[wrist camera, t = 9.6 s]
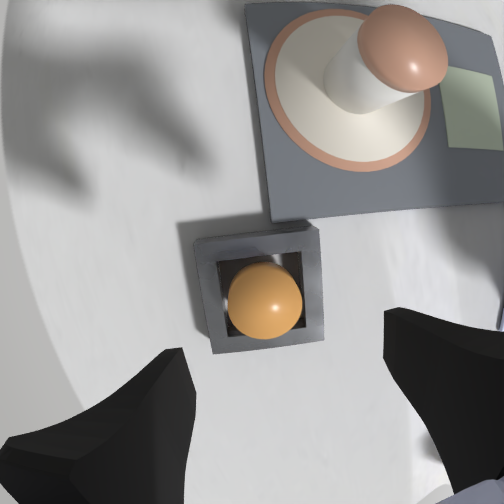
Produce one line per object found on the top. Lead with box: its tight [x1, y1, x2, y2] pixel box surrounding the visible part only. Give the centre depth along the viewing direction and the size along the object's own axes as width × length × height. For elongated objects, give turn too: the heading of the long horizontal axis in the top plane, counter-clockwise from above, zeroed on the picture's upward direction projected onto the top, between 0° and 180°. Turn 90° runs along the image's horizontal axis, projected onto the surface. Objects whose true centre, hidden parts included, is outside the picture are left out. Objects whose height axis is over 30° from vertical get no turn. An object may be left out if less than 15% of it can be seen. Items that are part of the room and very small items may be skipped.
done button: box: [228, 262, 302, 339], centre depth 18 cm, size 4×4×2 cm
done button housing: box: [193, 226, 324, 354], centre depth 19 cm, size 7×7×2 cm
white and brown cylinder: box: [323, 5, 448, 115], centre depth 13 cm, size 4×4×7 cm
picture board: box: [245, 2, 504, 223], centre depth 17 cm, size 20×14×1 cm
